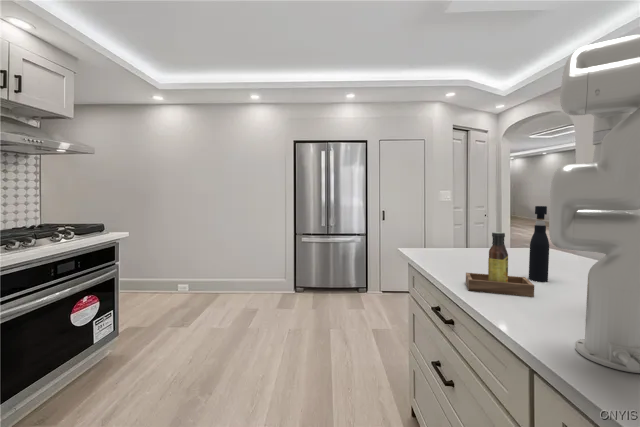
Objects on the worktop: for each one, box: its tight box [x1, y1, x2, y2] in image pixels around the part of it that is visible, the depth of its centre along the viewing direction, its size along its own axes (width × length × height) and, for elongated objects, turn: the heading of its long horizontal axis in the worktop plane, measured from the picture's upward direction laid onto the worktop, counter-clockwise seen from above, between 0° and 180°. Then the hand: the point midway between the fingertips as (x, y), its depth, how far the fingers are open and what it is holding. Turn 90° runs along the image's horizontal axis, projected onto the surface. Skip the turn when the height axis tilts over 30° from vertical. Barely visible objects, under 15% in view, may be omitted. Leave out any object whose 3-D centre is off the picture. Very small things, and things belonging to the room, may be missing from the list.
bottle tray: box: [465, 272, 535, 298], centre depth 114 cm, size 11×20×4 cm, turn 70°
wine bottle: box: [528, 205, 550, 283], centre depth 125 cm, size 6×6×30 cm
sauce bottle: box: [487, 231, 509, 282], centre depth 113 cm, size 7×6×20 cm
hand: (607, 198), depth 89 cm, fingers open, 9 cm apart
